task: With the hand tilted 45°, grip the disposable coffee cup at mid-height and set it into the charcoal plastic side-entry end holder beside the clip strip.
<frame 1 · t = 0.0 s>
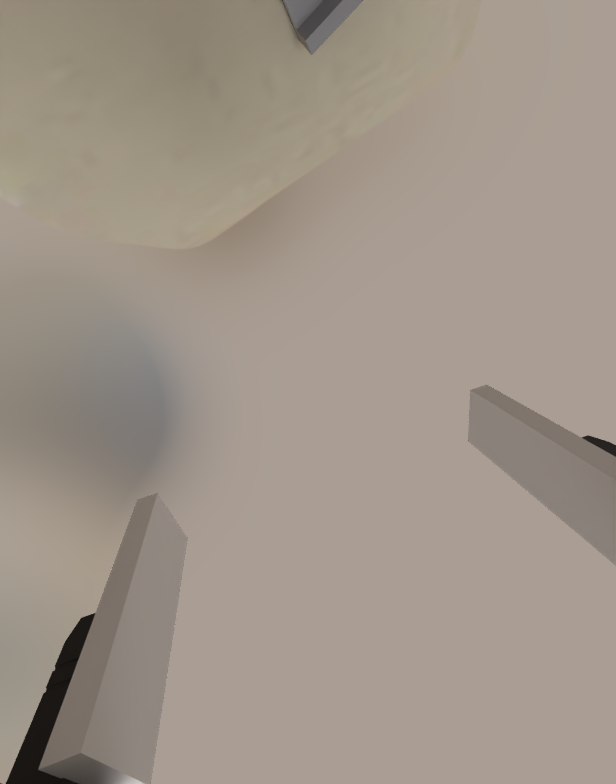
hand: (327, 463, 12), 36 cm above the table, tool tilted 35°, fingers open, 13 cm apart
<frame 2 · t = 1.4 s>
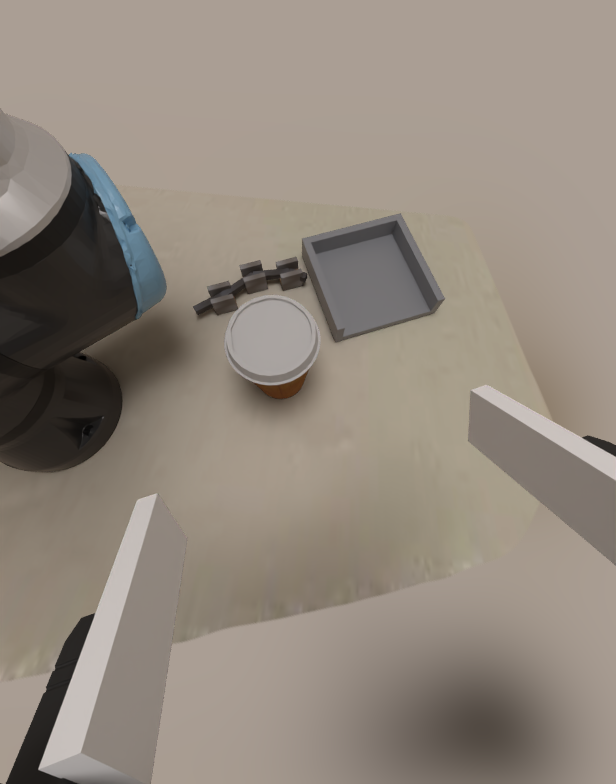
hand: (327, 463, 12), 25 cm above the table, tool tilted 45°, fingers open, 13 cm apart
clip strip: (257, 289, 44), on the table
disposable coffee cup: (281, 376, 40), on the table
end holder: (366, 284, 44), on the table
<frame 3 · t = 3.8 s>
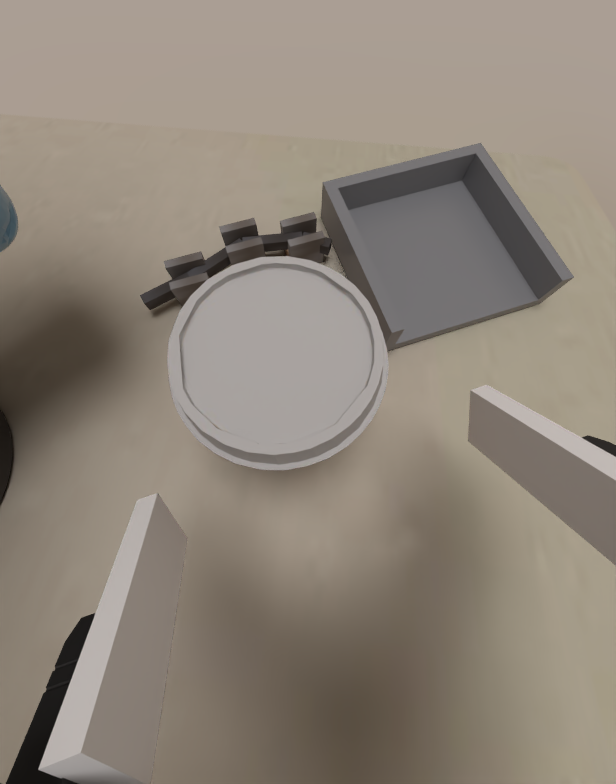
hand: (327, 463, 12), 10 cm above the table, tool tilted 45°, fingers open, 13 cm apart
clip strip: (250, 267, 27), on the table
disposable coffee cup: (291, 413, 24), on the table
end holder: (425, 258, 28), on the table
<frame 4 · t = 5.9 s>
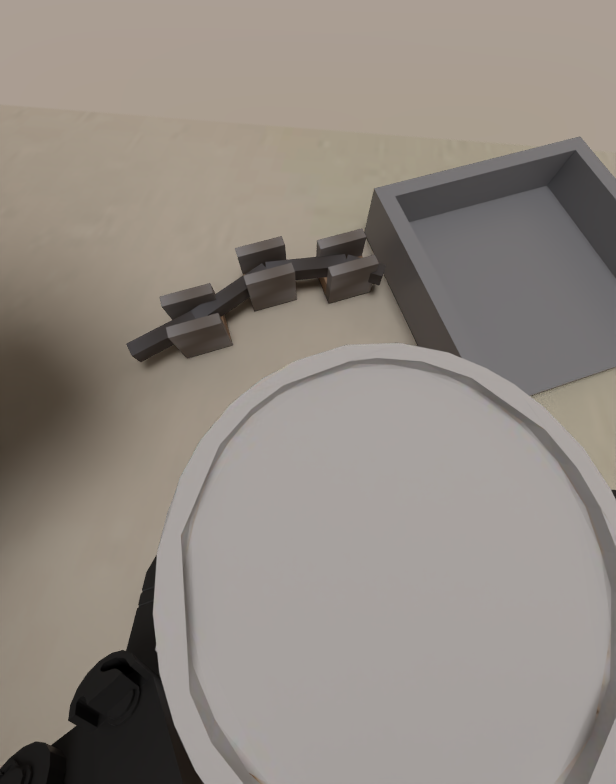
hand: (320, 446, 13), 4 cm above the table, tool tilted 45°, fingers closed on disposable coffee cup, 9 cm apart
clip strip: (274, 300, 21), on the table
disposable coffee cup: (335, 510, 17), on the table, touching gripper
end holder: (503, 287, 21), on the table
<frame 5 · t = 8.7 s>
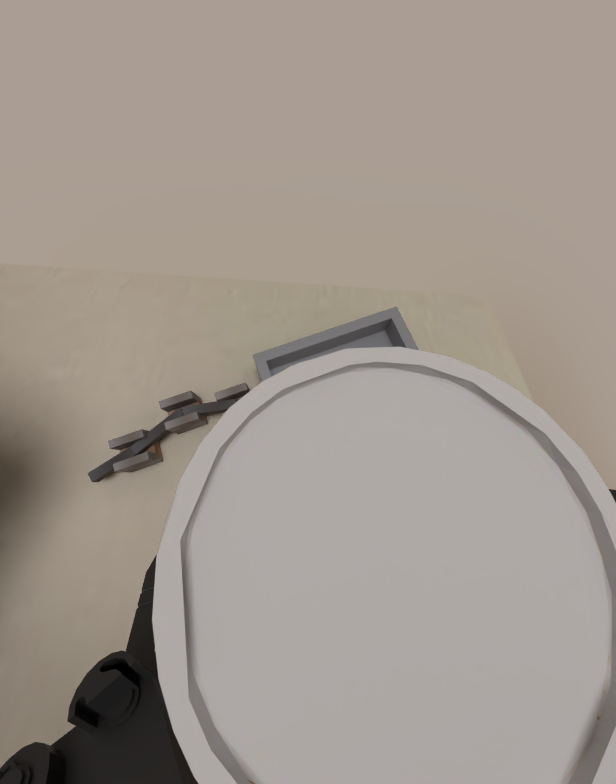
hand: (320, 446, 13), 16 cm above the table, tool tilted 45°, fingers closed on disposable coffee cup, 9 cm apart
clip strip: (192, 425, 30), on the table
disposable coffee cup: (335, 512, 17), point 12 cm above the table, touching gripper
end holder: (350, 408, 31), on the table
when the fingers open (7 cm above the table, at t = 11.6 s): disposable coffee cup drops 1 cm, resting on end holder.
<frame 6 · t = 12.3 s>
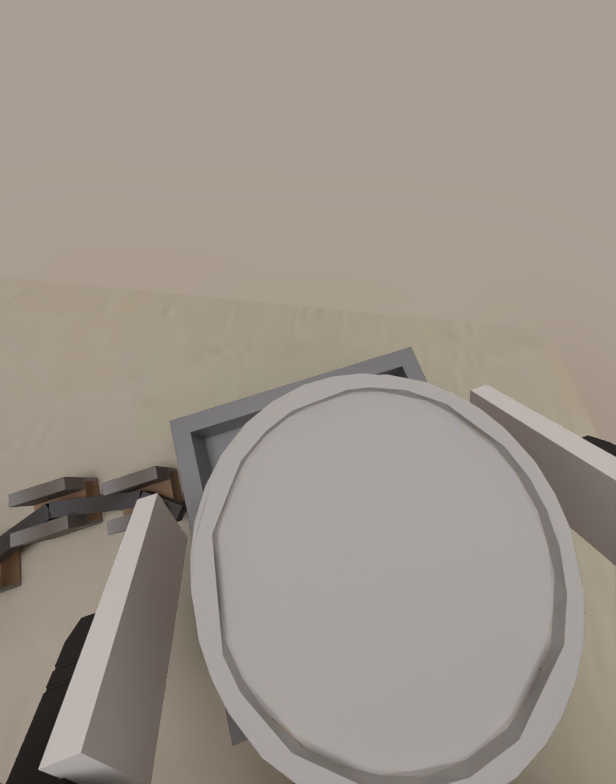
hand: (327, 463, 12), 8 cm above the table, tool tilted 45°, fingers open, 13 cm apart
clip strip: (77, 523, 19), on the table
disposable coffee cup: (335, 511, 18), point 1 cm above the table, touching end holder
end holder: (332, 506, 19), on the table
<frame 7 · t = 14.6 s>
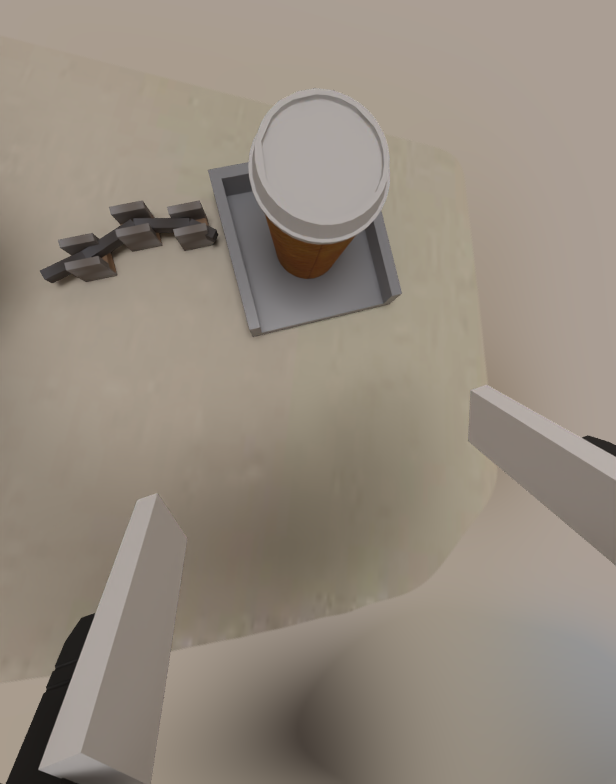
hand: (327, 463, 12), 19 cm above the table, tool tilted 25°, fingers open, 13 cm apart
clip strip: (146, 244, 30), on the table
disposable coffee cup: (306, 249, 31), point 1 cm above the table, touching end holder
end holder: (304, 250, 32), on the table
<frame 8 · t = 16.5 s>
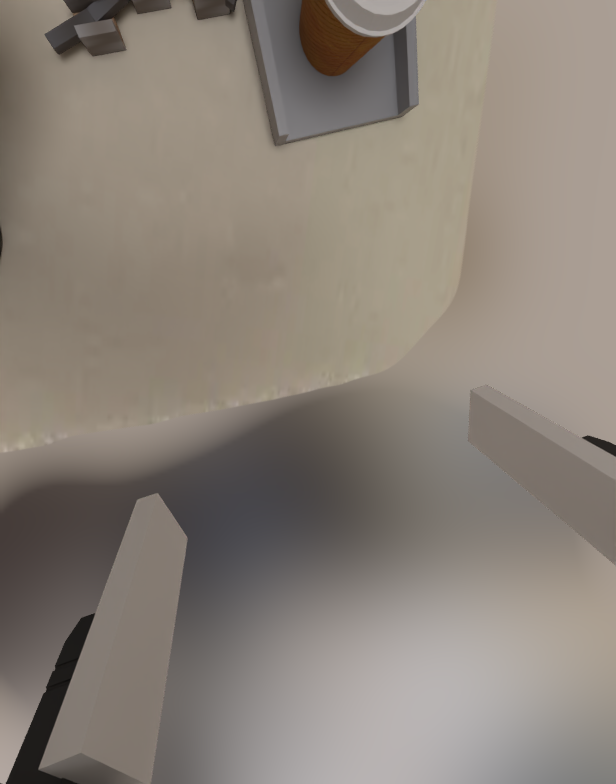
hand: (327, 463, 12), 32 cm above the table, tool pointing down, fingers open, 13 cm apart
clip strip: (152, 4, 27), on the table
disposable coffee cup: (330, 33, 29), point 1 cm above the table, touching end holder
end holder: (327, 35, 30), on the table
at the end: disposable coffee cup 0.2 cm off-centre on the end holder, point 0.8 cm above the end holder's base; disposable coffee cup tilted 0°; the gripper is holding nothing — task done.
